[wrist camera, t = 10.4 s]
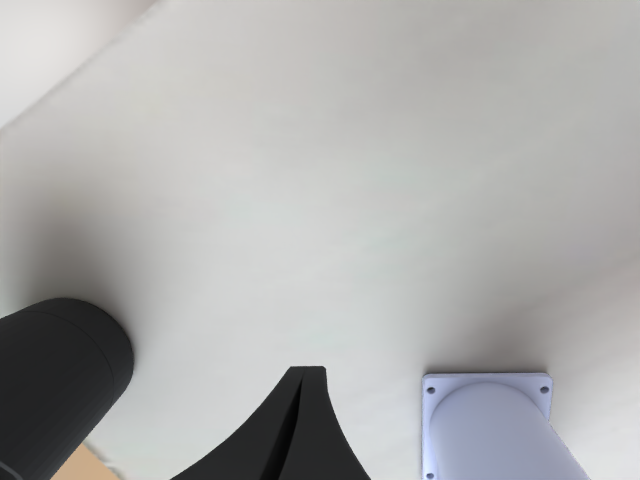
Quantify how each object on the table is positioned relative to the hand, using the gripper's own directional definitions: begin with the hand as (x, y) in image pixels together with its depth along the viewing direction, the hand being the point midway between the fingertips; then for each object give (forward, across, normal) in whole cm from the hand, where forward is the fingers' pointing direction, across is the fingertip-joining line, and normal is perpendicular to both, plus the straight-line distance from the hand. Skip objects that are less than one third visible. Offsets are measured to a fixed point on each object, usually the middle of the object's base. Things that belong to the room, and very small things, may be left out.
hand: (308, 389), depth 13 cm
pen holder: (+10, +18, +4) cm, 21 cm away
